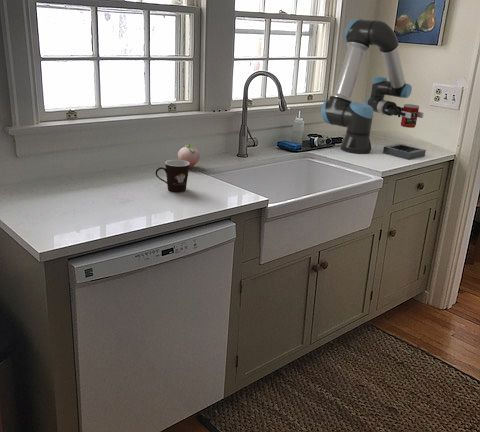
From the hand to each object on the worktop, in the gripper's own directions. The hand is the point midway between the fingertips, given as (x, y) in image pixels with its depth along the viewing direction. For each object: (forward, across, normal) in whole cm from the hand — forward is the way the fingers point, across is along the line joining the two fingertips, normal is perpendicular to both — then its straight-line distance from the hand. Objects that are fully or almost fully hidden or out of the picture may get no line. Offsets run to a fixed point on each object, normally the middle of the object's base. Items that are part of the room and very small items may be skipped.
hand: (416, 115), depth 271 cm
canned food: (-5, 0, -7) cm, 8 cm away
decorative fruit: (+8, +128, -18) cm, 129 cm away
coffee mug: (+33, +143, -18) cm, 148 cm away
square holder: (+8, +12, -18) cm, 23 cm away
